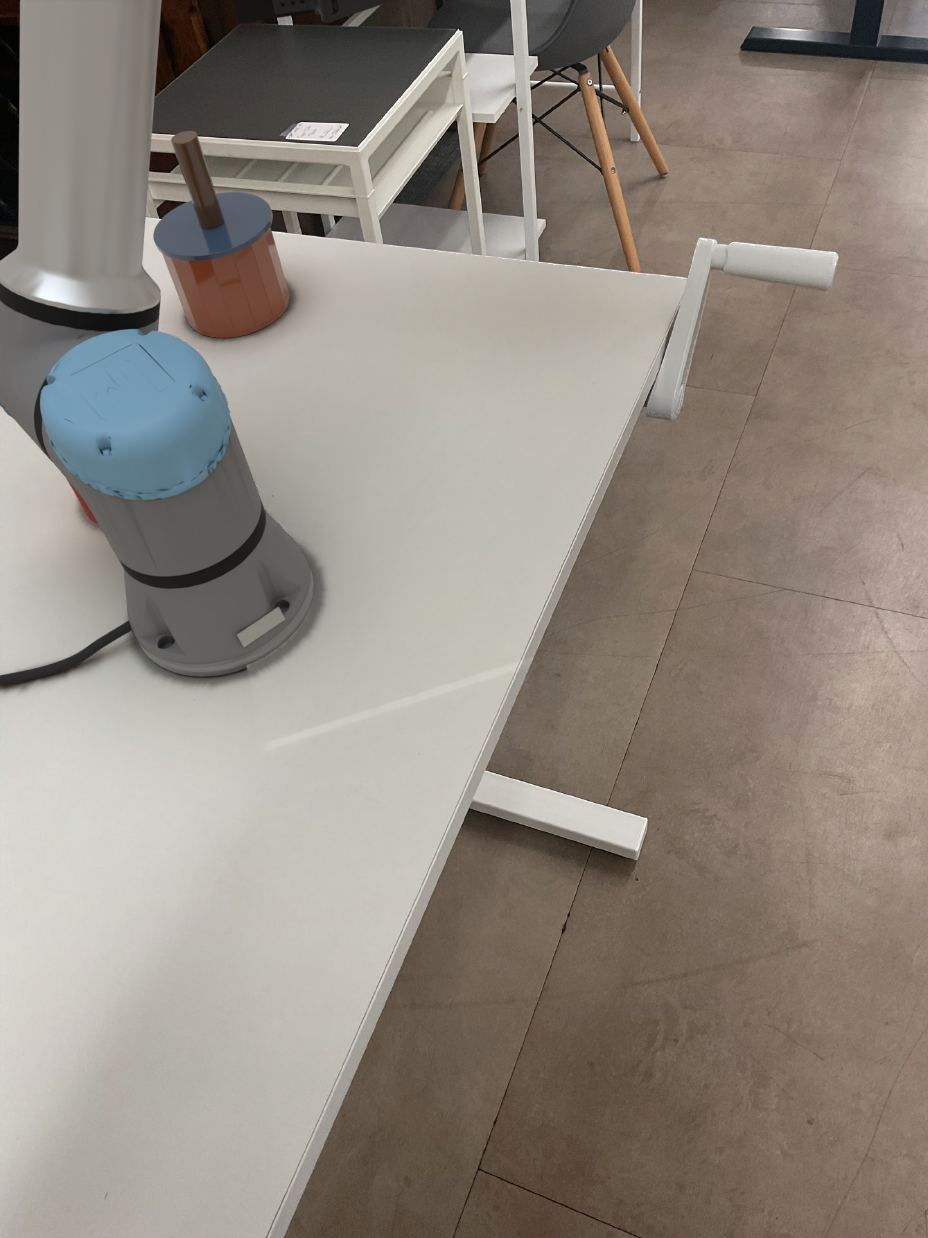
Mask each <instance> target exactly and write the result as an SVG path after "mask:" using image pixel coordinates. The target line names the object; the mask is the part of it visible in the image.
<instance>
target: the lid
mask: <svg viewBox="0 0 928 1238" xmlns="http://www.w3.org/2000/svg"><path fill="white" fill-rule="evenodd" d="M170 142H171V145H172V148H173V151H174V154H175V156H176V159H177V163H178V166H179V168H180V172H181V174H182V177H183V180H184V183H185V186H186V188H187V191H188V195H189V197H190V200H188V201H187V202H184V203H182V204H180V205H178V206H176V207H175V208H173V209H172V210H170V211H169V212H167V213H166V214H165V215H164V216H163V217H162V218H161V219H159V221H158V223H157V224H156V226H155V228H154V229H153V234H152V238H153V242H154V244H155V247H156V249H157V250H158V252H160V253H161V254H162V255H163V254H164V255H166V256H167V257H170V258H173V259H177V260H182V261H204V260H211V259H216V258H220V257H224V256H227V255H231V254H233V253H236V252H238V251H241V250H243V249H245V248H247V247H248V246H250V245H252V244H253V243H255V242H256V241H258V240H259V239H260V238H261V237H262V236H263V235H264V234H265V233H266V232H267V231H268V229H269V228H270V227H271V226H272V223H273V219H274V216H273V211H272V208H271V206H270V204H269V203H268V202H267V201H266V200H265V199H264V198H263V197H260V196H259V195H255V194H252V193H247V192H238V191H235V192H234V191H231V192H230V191H227V192H219V193H218V192H217V193H216V190H215V186H214V183H213V180H212V177H211V174H210V170H209V167H208V164H207V161H206V158H205V154H204V152H203V149H202V145H201V142H200V139H199V136H198V133H197V132H196V131H193V130H185V131H181V132H178V133H176V134H174V135H173V136H172V137H171V139H170Z"/></svg>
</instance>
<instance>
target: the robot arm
mask: <svg viewBox="0 0 928 1238" xmlns="http://www.w3.org/2000/svg"><path fill="white" fill-rule="evenodd" d="M392 2H395V0H232V4H233V7H234V10H235V15H236V18H237V22H238V24H245V23H252V22H260V21H266V20H273V19H280V18H287V17H293V16H299V15H306V14H307V15H308V14H313V13H314V14H315V15H317V16H320V19H321V22H322V23H325V24H327V23H328V24H329V23H332V22H334V21H337V20H340V19H343V18H347V17H350V16H352V15H355V14H358V13H361V12H365V11H368V10H370V9H374V8H376V7H379V6H382V5H386V4H388V3H392ZM161 13H162V0H20V1H19V103H18V104H19V105H18V107H19V111H18V112H19V113H18V114H19V122H18V123H19V124H18V127H19V128H18V129H19V131H18V244H17V247H16V249H14V250H13V251H12V252H10V253H9V254H8V255H6V256H5V257H3V258H2V259H1V260H0V407H1V408H2V409H3V411H4V412H5V413H6V414H7V415H8V416H9V417H10V418H12V419H13V421H15V423H17V424H18V425H19V426H20V428H21V429H22V430H23V431H24V433H26V434H27V436H28V437H29V438H30V439H31V440H32V441H33V442H34V443H35V445H36V446H37V447H38V448H39V449H40V450H41V451H42V453H43V454H44V455H45V456H46V457H47V458H48V459H49V460H50V462H52V463H53V465H54V466H55V467H56V468H57V470H59V472H60V473H61V474H62V475H63V476H64V477H65V479H66V478H67V479H66V481H67V480H68V481H69V482H70V483H71V484H72V485H73V487H74V488H75V489H76V490H77V491H78V493H79V494H80V495H81V497H82V498H83V500H84V501H85V503H86V504H87V506H88V507H89V509H90V510H91V512H92V513H93V515H94V517H95V519H96V520H97V522H98V524H97V525H98V526H99V527H100V529H101V531H102V533H103V534H104V537H105V538H106V540H107V542H108V544H109V545H110V547H111V548H112V551H113V552H114V554H115V556H116V557H117V560H118V561H119V563H120V565H121V566H122V568H123V576H124V587H125V588H124V589H125V599H126V611H127V618H128V620H127V621H126V622H124V623H122V624H120V625H119V626H117V627H115V628H113V629H111V630H110V631H108V632H106V633H105V634H103V635H102V636H100V637H99V638H97V639H96V640H94V641H92V642H91V643H90V644H89V645H87V646H86V647H84V648H83V649H82V650H80V651H77V652H76V653H75V654H73V655H70V656H69V657H65V658H63V659H61V660H58V661H55V662H52V663H48V664H46V665H42V666H39V667H34V668H30V669H26V670H20V671H14V672H10V673H9V672H8V673H5V674H4V673H3V674H0V686H5V685H9V684H10V685H11V684H15V683H20V682H26V681H30V680H34V679H35V680H36V679H39V678H42V677H46V676H51V675H53V674H56V673H59V672H62V671H64V670H67V669H70V668H72V667H75V666H77V665H79V664H81V663H83V662H84V661H86V660H88V659H89V658H91V657H92V656H93V655H95V654H96V653H98V652H99V651H101V650H102V649H104V648H105V647H107V646H108V645H110V644H112V643H113V642H115V641H117V640H119V639H120V638H122V637H123V636H125V635H126V634H128V633H130V632H132V634H133V636H134V638H135V639H136V641H137V643H138V645H139V646H140V648H141V650H142V651H143V653H144V654H145V655H146V656H147V657H148V658H149V659H150V660H151V661H152V662H153V663H155V664H156V665H158V666H159V667H161V668H163V669H165V670H167V671H170V672H173V673H175V674H180V675H183V676H189V677H216V676H223V675H229V674H233V673H236V672H239V671H242V670H245V669H247V668H248V667H247V666H248V665H250V664H253V663H255V662H258V661H259V660H261V659H263V658H265V657H267V656H269V655H270V654H271V653H273V652H275V651H276V650H277V649H279V648H280V647H281V646H282V645H284V644H285V643H286V642H287V641H288V640H289V639H290V638H291V637H292V636H293V635H294V634H295V632H297V630H298V629H299V628H300V626H301V625H302V623H303V622H304V620H305V618H306V617H307V615H308V613H309V611H310V608H311V606H312V602H313V597H314V593H315V592H314V590H315V583H314V577H313V571H312V569H311V566H310V563H309V561H308V558H307V555H306V554H305V552H304V551H303V550H302V548H301V546H300V545H299V544H298V543H297V541H296V540H295V539H294V537H292V536H291V535H290V534H289V533H288V532H287V531H286V530H285V529H284V528H283V527H282V526H281V524H279V522H278V521H277V520H276V519H275V518H274V517H273V516H272V515H271V514H270V513H269V512H268V511H267V510H266V509H265V506H264V504H263V501H262V499H261V495H260V493H259V490H258V488H257V485H256V481H255V479H254V476H253V474H252V471H251V469H250V465H249V463H248V460H247V458H246V457H247V456H246V454H245V452H244V449H243V447H242V444H241V442H240V438H239V435H238V433H237V430H236V428H235V425H234V422H233V420H232V417H231V410H230V408H229V402H228V399H227V397H226V394H225V393H224V391H223V390H222V385H221V384H220V383H219V381H218V379H217V378H216V376H215V375H214V373H213V371H212V369H211V367H210V365H209V364H208V363H207V361H206V359H204V357H203V356H202V355H201V354H200V352H199V351H197V350H196V349H195V347H193V346H192V345H190V344H189V343H187V342H186V341H184V340H183V339H181V338H178V337H177V336H174V335H172V334H169V333H167V332H164V331H163V332H162V331H159V325H160V324H159V323H160V313H161V312H160V311H161V299H162V291H161V289H160V286H159V285H158V284H157V283H156V282H155V281H154V279H153V278H152V276H151V275H150V274H149V273H148V272H147V271H146V270H145V268H144V265H143V257H144V246H145V245H144V244H145V242H144V241H145V233H146V232H145V231H146V230H145V229H146V217H147V205H148V204H147V203H148V191H149V190H148V189H149V177H150V164H151V163H150V161H151V150H152V135H153V124H154V123H153V121H154V110H155V109H154V108H155V95H156V80H157V67H158V53H159V40H160V39H159V38H160V25H161ZM68 481H67V482H68ZM69 482H68V483H69Z"/></svg>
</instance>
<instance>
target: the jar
mask: <svg viewBox="0 0 928 1238" xmlns="http://www.w3.org/2000/svg"><path fill="white" fill-rule="evenodd" d="M162 258H163V259H164V262H165V265H166V267H167V270H168V273H169V276H170V278H171V281H172V284H173V286H174V289H175V291H176V294H177V297H178V299H179V301H180V304H181V307H182V309H183V313H184V315H185V317H186V320H187V322H188V324H189V325H190V327H191V328H192V329H193V330H194V331H195V332H197V333H198V334H201V335H203V336H207V337H210V338H217V339H229V338H230V339H231V338H236V337H243V336H247V335H249V334H253V333H256V332H258V331H261V330H263V329H265V328H267V327H268V326H270V325H273V323H274V322H276V321H277V320H278V319H279V318H281V316H282V315H284V313H285V312H286V311H287V310H288V307H289V304H290V300H291V299H290V298H291V296H290V294H291V293H290V290H289V287H288V283H287V279H286V276H285V273H284V270H283V265H282V262H281V258H280V255H279V252H278V249H277V245H276V241H275V238H274V235H273V230H272V228H271V226H270V228H269V229H268V231H267V232H266V233H265V234H264V235H263V236H262V237H261V238H260V239H259V240H258V241H256V242H255V243H253V244H252V245H250V246H248V247H247V248H245V249H243V250H241V251H238V252H236V253H233V254H231V255H227V256H224V257H220V258H216V259H211V260H204V261H182V260H177V259H173V258H170V257H167V256H166V255H164V254H162Z"/></svg>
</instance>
